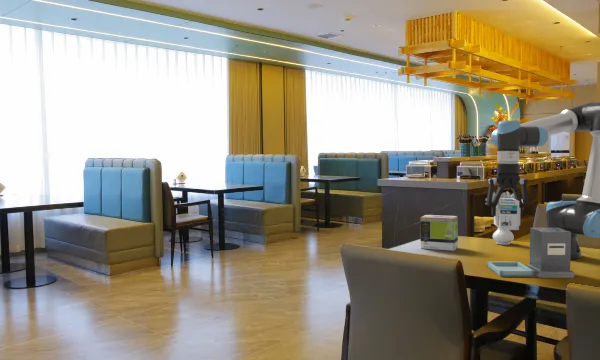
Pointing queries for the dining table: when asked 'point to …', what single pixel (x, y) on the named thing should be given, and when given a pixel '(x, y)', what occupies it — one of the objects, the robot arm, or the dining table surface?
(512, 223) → the light bulb box
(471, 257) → the dining table surface
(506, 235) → the flower vase
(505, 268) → the tray
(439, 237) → the tea box
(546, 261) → the control unit
